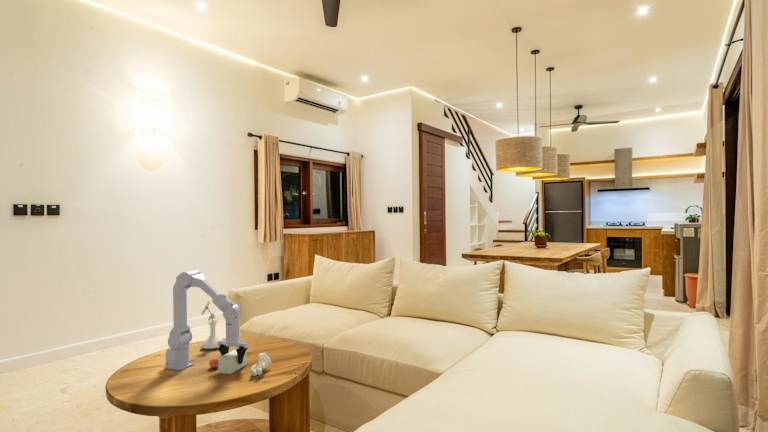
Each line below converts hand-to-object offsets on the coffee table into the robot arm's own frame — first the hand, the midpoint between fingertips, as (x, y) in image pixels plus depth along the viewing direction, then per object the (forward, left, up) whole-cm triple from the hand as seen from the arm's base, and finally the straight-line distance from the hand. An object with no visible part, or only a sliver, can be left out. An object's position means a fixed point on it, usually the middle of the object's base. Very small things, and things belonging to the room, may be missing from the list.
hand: (233, 362), depth 183 cm
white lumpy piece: (+16, -5, -3) cm, 17 cm away
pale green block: (0, 0, -3) cm, 3 cm away
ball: (-9, -1, -1) cm, 9 cm away
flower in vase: (-29, +22, -3) cm, 37 cm away
